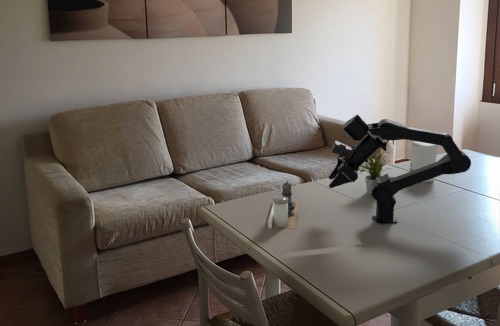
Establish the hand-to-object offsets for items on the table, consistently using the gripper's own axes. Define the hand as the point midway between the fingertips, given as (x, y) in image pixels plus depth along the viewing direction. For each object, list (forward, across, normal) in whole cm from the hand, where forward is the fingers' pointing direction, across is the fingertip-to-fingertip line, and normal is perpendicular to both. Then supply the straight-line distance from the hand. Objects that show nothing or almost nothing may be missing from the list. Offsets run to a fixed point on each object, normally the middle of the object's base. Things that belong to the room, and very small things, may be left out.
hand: (329, 182), depth 180 cm
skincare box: (-17, -46, +36) cm, 61 cm away
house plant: (-3, -29, +21) cm, 36 cm away
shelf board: (+19, 0, -2) cm, 19 cm away
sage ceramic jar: (+19, +10, -3) cm, 21 cm away
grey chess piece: (+18, 0, -2) cm, 18 cm away
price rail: (+22, 0, -5) cm, 23 cm away
